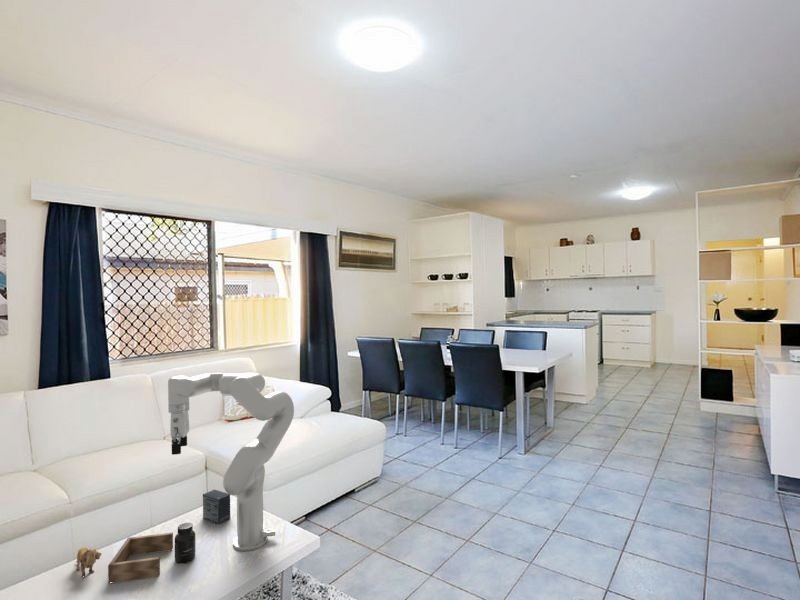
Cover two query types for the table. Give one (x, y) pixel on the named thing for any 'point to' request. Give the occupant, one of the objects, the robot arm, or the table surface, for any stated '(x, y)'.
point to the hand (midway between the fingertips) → (179, 449)
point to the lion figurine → (87, 559)
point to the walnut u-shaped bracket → (143, 567)
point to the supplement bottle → (185, 544)
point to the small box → (216, 506)
